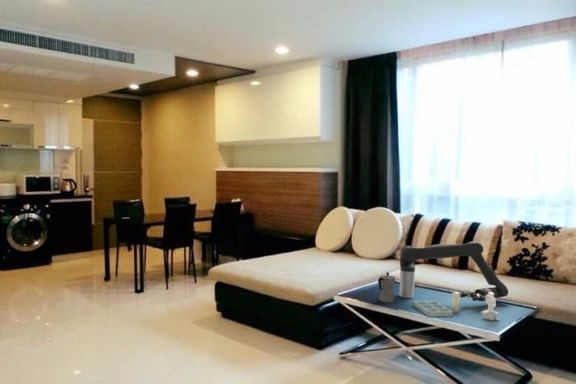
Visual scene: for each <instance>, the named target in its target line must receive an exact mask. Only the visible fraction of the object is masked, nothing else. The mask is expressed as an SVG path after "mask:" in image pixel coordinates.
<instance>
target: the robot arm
mask: <svg viewBox="0 0 576 384" xmlns="http://www.w3.org/2000/svg"><path fill="white" fill-rule="evenodd" d="M483 252H484V247H483V245H482V244H481V243H479V242H478V241H469V242H467V243H464V244H463V243H462V244H458V243H457V244H455V243H439V244H432V245H429V246H425V247H412V246H411V245H405V246H403V247H402V248H401V250H400V252H399V253H400V254H399V258H400V259H399V265H400V266H399V267H400V275H399V297H401V298H407V299H411V298H414V297H415V296H414V295H415V279H416V278H415V275H416V273H415V272H416V266H415V261H419V260H424V259H425V260H427V259H428V260H431V259H433V260H435V259H438V260H439V259H450V258H455V257H456V258H457V257H462V256H463V257H465V256H466V257H470V258H471V259H472V260H473V262H474V263H475V265H476V266H477V268H478V269H479V271H480V272H481V274H482V276H483V277H484V280H485V281H486V283H487V284H488V285H489V286H492V287H482V288H478V289H475V290H474V291H471V292H470V291H469V290H466V291H462V292H461V293H459V294H460V299H461V298H468V299H471V300H472V302H475V301H478V302H482V303H483V302H486V295H488V292H492V293H494V298H495V299H499V298H503V297H506V296H508V295H509V289H508V287H507V286H506V285H505V284H504V283H503V282H502V281H501V280H500V279H499V277H498V275H497V274H496V272H495V271H494V270H493V268H492V267H491V266H490V264H489V263H488V262H487V261H486V259H485V258H484V256H483ZM493 286H494V287H493Z"/></svg>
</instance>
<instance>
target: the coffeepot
mask: <svg viewBox="0 0 576 384" xmlns="http://www.w3.org/2000/svg"><path fill="white" fill-rule="evenodd" d="M395 281H396V276H393V275H390V272H388V271H387V272H386V274H385V275H384V274H383V275H381V276H379V278H378V281H377V283H378V288H379V291H380V295H379V301H380V302H383V303H393V302H395V297H394V291H393V288H394V285H395Z"/></svg>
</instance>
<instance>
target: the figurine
mask: <svg viewBox="0 0 576 384" xmlns="http://www.w3.org/2000/svg"><path fill="white" fill-rule="evenodd" d="M496 299H497V298H494V293H492V292H488V295H486V301H485V304H486V305H487V309H485V310H483V311H480V312H481V314H482V316H483V318H485V320H488V319H489V320H488V321H493V320H496V319H497V317H498V315H500V312H498V311H494V308H496V306H497V300H496Z"/></svg>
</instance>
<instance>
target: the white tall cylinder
mask: <svg viewBox="0 0 576 384" xmlns="http://www.w3.org/2000/svg"><path fill="white" fill-rule="evenodd" d="M460 294H461V293H459V292H458V291H453V292H452V293H451V300H450V301H451V306H450V310H451V311H453V313H461V311H460V309H461V297H460Z"/></svg>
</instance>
